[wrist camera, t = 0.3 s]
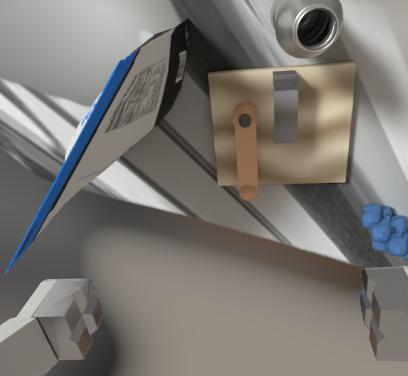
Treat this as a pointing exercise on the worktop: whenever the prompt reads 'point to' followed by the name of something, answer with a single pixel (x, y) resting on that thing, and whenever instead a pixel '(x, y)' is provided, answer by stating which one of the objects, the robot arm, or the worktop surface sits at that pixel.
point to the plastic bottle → (306, 25)
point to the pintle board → (310, 128)
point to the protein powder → (118, 119)
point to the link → (246, 151)
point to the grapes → (386, 230)
